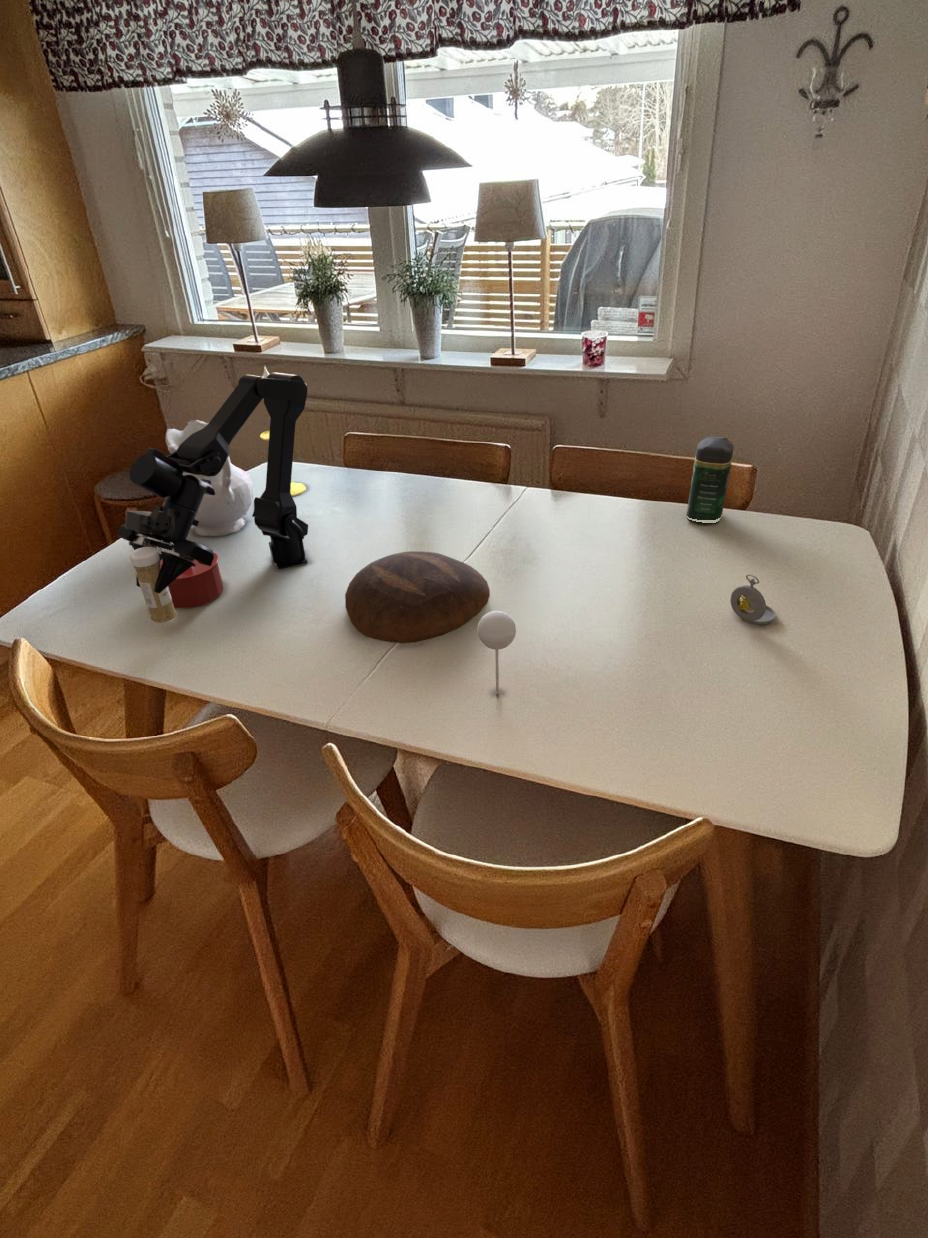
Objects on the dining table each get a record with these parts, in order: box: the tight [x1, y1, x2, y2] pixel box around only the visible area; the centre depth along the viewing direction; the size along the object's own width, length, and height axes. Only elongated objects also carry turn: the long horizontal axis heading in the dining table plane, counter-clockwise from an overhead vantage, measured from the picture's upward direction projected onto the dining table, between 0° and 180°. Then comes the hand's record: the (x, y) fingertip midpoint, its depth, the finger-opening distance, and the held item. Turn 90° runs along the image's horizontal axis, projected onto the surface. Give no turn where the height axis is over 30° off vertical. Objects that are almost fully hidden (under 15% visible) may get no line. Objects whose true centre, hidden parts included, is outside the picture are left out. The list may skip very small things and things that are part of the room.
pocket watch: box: [729, 574, 777, 625], centre depth 129 cm, size 8×8×10 cm
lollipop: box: [476, 610, 517, 695], centre depth 112 cm, size 6×6×15 cm
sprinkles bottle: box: [129, 547, 178, 624], centre depth 127 cm, size 5×5×13 cm
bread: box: [344, 550, 491, 644], centre depth 137 cm, size 28×27×9 cm
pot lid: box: [160, 551, 220, 581], centre depth 143 cm, size 13×13×4 cm
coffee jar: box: [686, 435, 734, 526], centre depth 163 cm, size 10×8×19 cm
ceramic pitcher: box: [165, 419, 254, 537], centre depth 167 cm, size 22×20×25 cm
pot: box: [168, 563, 224, 609], centre depth 145 cm, size 12×12×6 cm
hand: (147, 589), depth 127 cm, fingers closed on sprinkles bottle, 4 cm apart
